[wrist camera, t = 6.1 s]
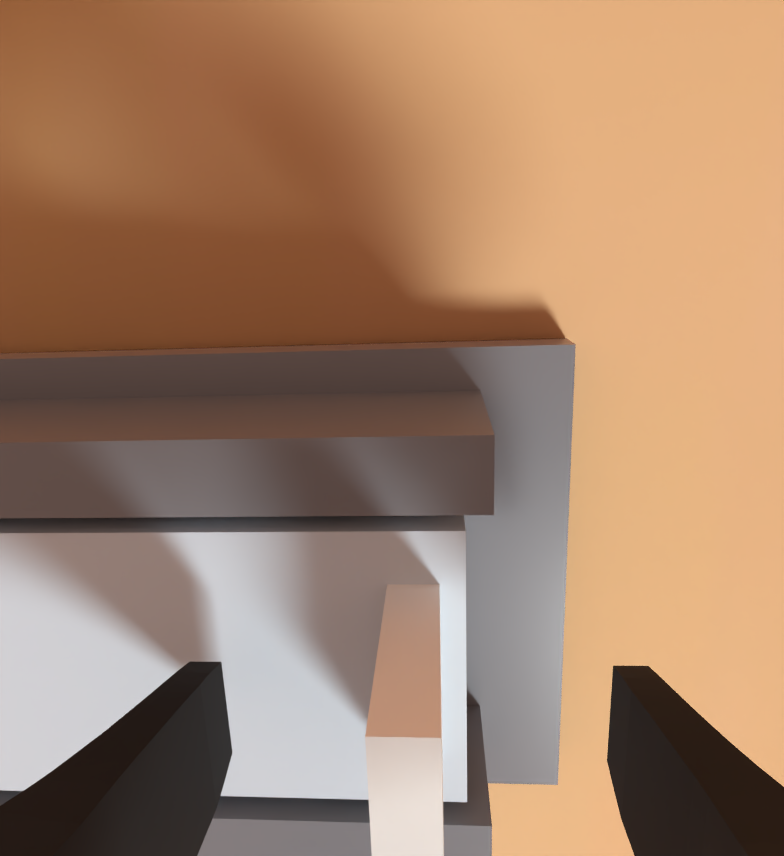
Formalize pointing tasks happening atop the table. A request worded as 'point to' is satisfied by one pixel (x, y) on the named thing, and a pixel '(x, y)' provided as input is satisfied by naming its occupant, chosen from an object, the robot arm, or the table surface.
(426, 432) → the housing
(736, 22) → the table surface
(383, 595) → the cartridge
